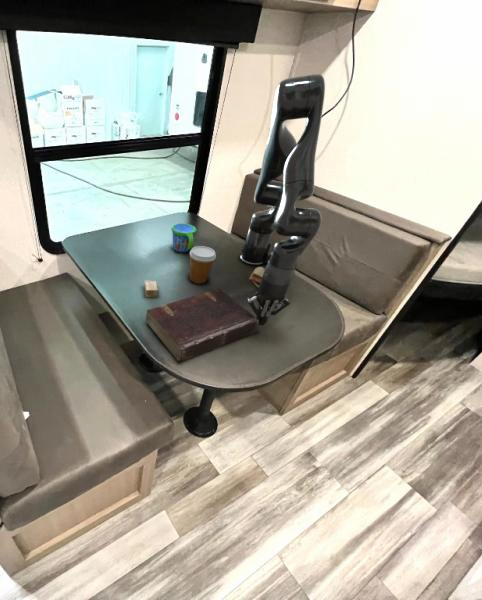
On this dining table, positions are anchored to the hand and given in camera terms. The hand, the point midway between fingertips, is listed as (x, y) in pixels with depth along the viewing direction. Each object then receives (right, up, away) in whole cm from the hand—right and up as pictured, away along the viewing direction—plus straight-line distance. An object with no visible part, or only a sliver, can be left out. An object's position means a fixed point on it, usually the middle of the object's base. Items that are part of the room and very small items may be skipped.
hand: (259, 323), depth 99 cm
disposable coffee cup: (-15, +16, +23) cm, 31 cm away
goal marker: (-34, +10, +14) cm, 38 cm away
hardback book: (-19, -1, 0) cm, 19 cm away
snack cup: (-18, +30, +43) cm, 55 cm away
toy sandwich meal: (+11, +13, +21) cm, 27 cm away
